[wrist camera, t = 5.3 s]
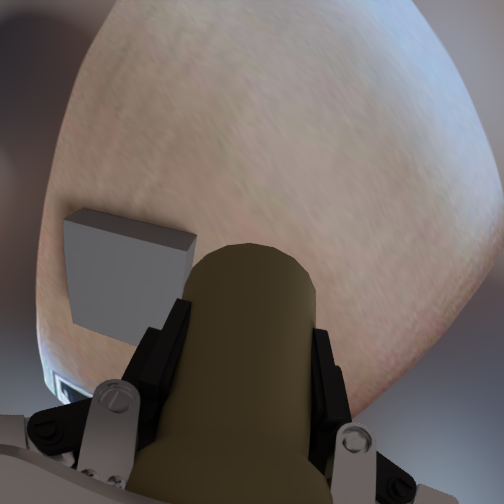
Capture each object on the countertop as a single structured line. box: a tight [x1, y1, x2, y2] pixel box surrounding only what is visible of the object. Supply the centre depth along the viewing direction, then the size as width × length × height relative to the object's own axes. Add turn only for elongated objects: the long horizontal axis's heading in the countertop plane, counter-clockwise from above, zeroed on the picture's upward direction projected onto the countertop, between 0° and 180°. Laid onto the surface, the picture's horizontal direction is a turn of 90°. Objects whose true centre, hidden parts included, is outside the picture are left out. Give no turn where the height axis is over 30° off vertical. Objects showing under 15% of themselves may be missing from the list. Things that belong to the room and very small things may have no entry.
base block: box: [63, 208, 197, 346], centre depth 30 cm, size 14×14×4 cm
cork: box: [125, 243, 333, 504], centre depth 8 cm, size 6×6×11 cm
